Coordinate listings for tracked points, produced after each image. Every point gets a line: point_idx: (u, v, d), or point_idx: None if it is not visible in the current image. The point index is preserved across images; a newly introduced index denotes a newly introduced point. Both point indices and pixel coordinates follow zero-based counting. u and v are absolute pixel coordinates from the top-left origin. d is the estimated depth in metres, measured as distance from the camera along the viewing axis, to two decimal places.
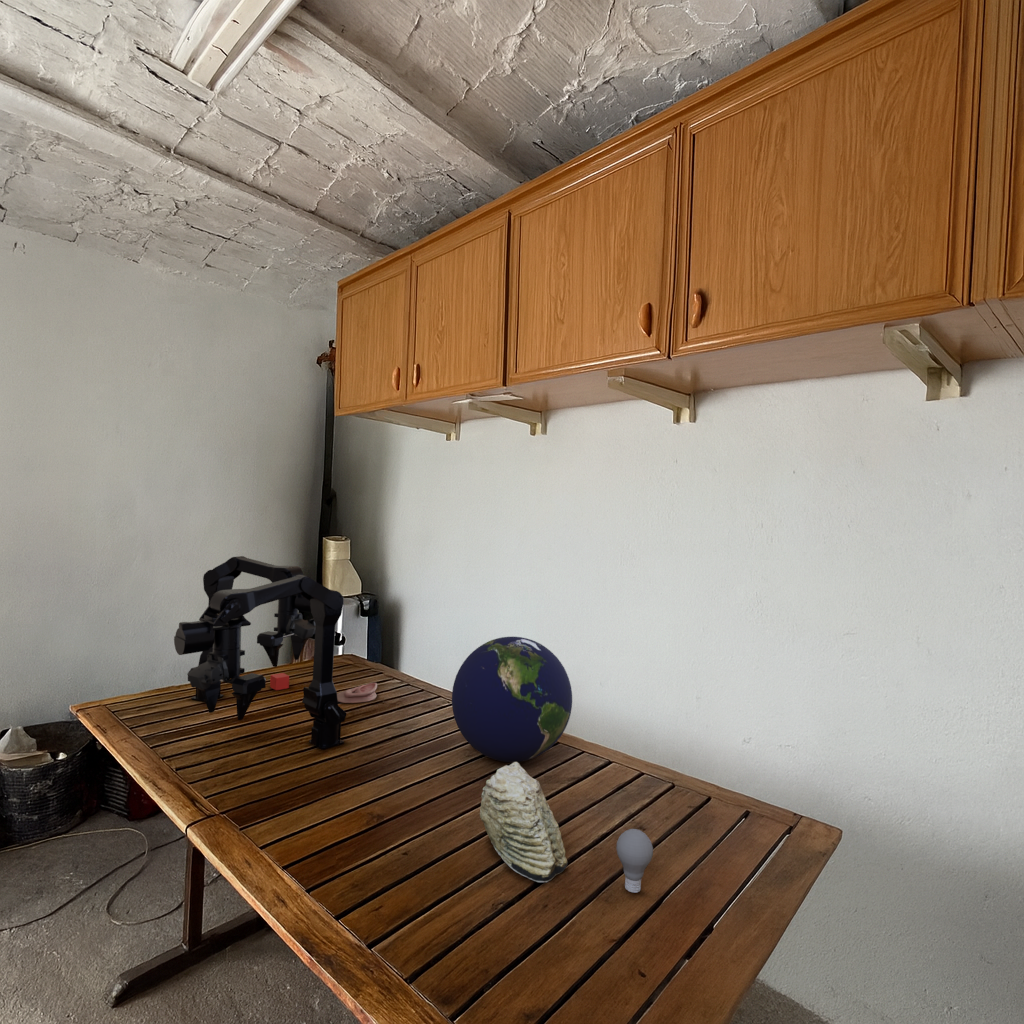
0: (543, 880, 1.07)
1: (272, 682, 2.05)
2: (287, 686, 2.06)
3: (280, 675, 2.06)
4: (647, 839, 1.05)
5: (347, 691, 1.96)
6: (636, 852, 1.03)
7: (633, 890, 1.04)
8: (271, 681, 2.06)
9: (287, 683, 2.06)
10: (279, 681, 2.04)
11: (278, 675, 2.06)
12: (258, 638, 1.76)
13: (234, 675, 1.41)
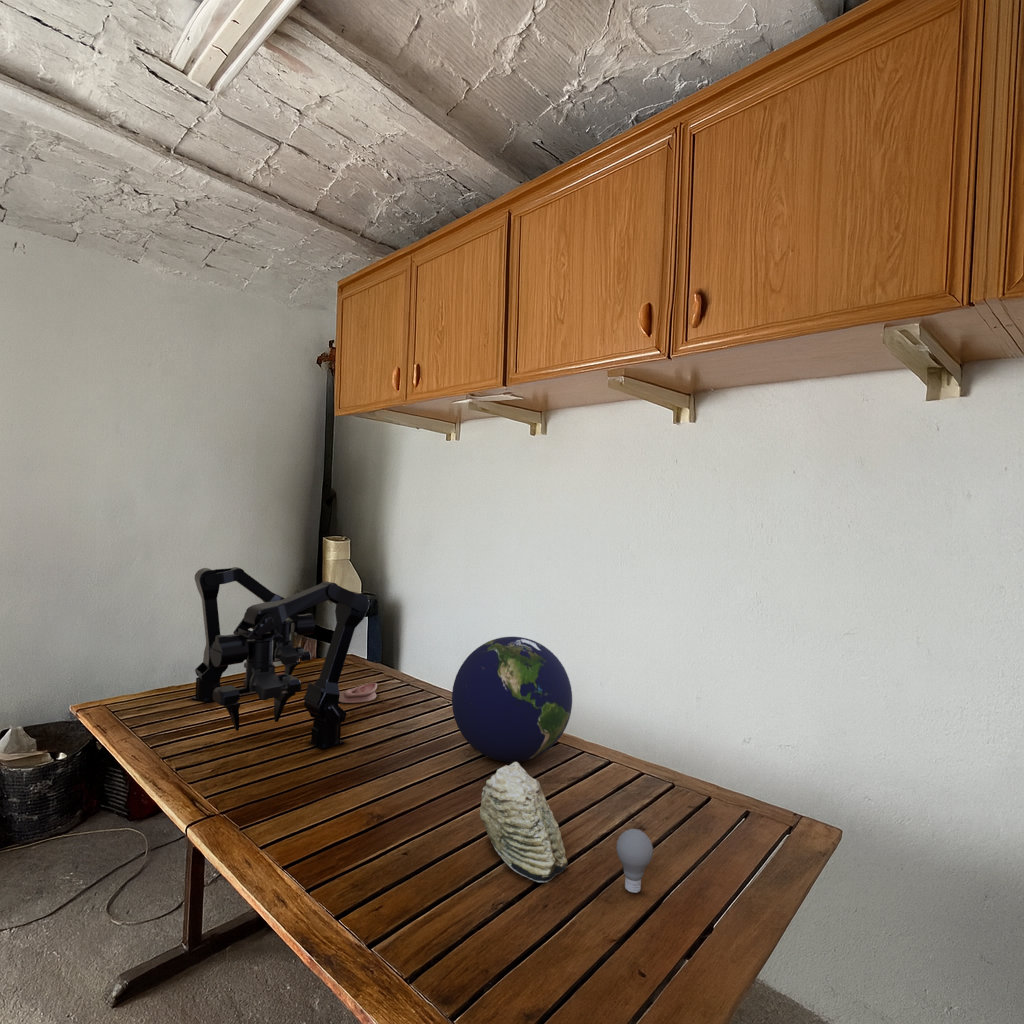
0: (543, 880, 1.07)
1: None
2: None
3: None
4: (647, 839, 1.05)
5: (347, 691, 1.96)
6: (636, 852, 1.03)
7: (633, 890, 1.04)
8: None
9: None
10: None
11: None
12: None
13: None
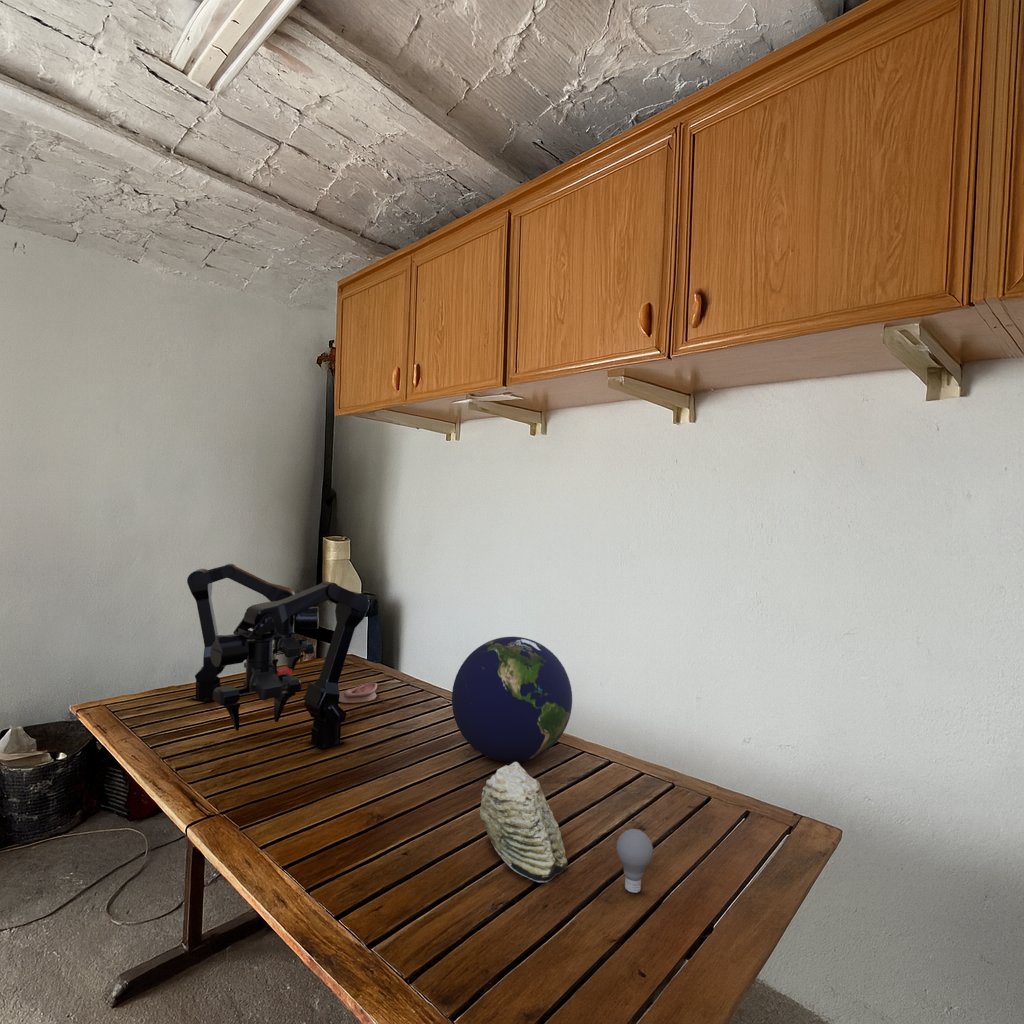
0: (543, 880, 1.07)
1: None
2: None
3: (283, 668, 1.98)
4: (647, 839, 1.05)
5: (347, 691, 1.96)
6: (636, 852, 1.03)
7: (633, 890, 1.04)
8: None
9: None
10: None
11: (280, 669, 1.98)
12: None
13: None
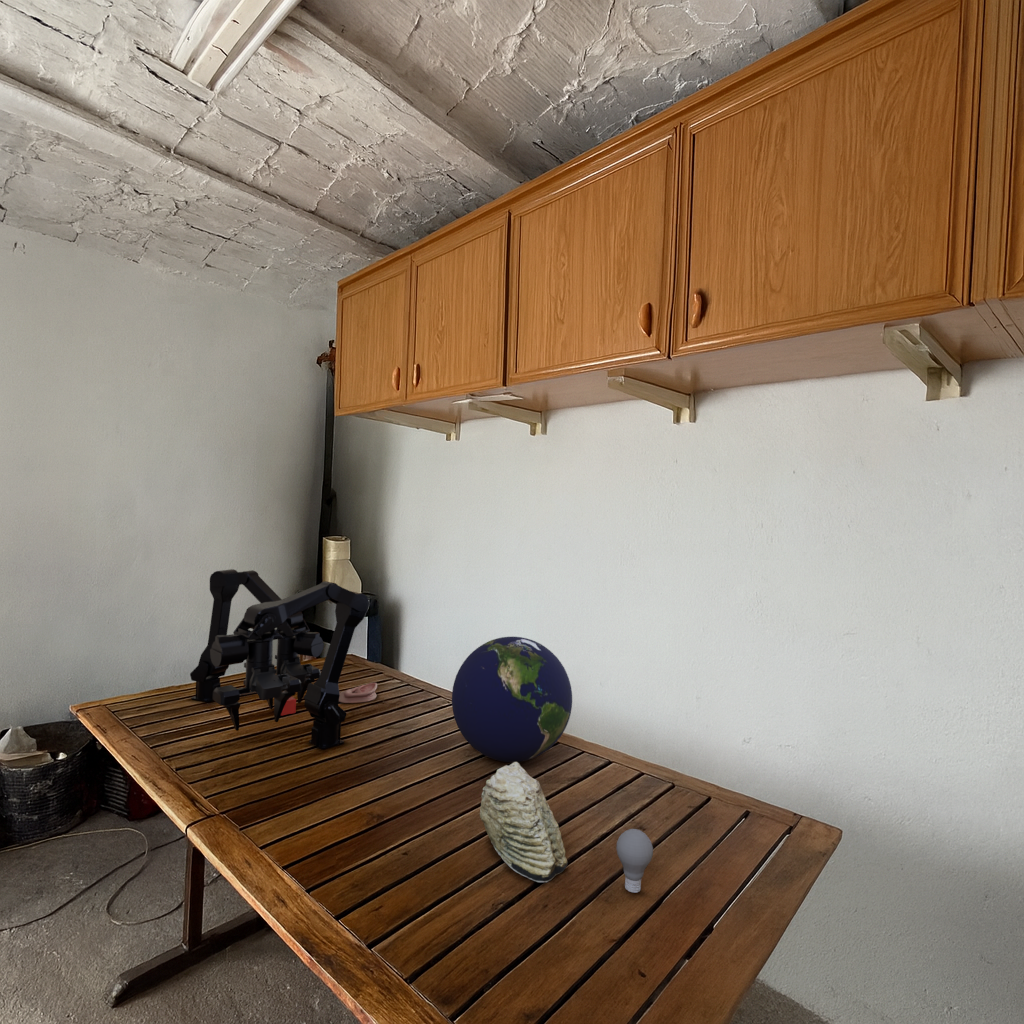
0: (543, 880, 1.07)
1: None
2: (294, 710, 1.83)
3: None
4: (647, 839, 1.05)
5: (347, 691, 1.96)
6: (636, 852, 1.03)
7: (633, 890, 1.04)
8: None
9: (294, 707, 1.83)
10: (285, 705, 1.82)
11: None
12: None
13: None
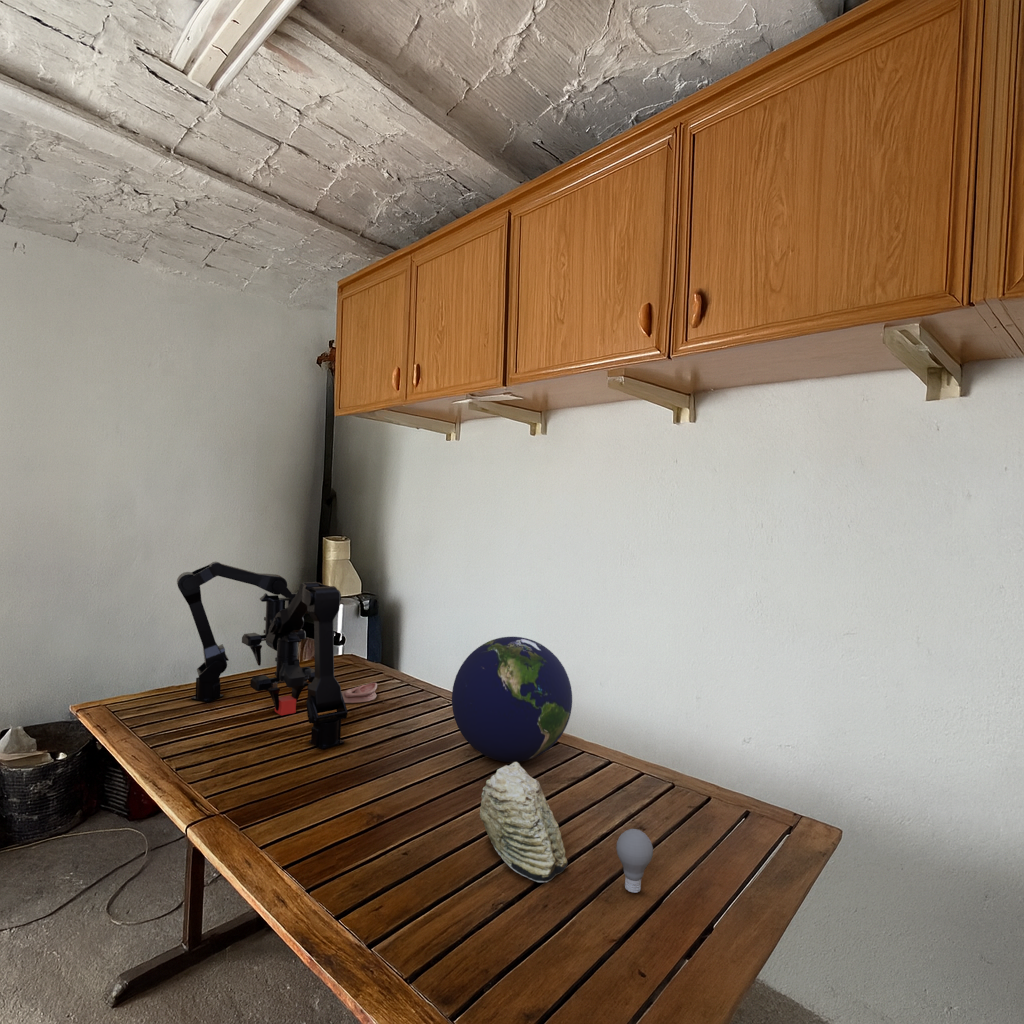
0: (543, 880, 1.07)
1: None
2: (294, 710, 1.83)
3: (286, 698, 1.84)
4: (647, 839, 1.05)
5: (347, 691, 1.96)
6: (636, 852, 1.03)
7: (633, 890, 1.04)
8: None
9: (294, 707, 1.83)
10: (285, 705, 1.82)
11: (283, 698, 1.84)
12: (242, 638, 1.97)
13: None
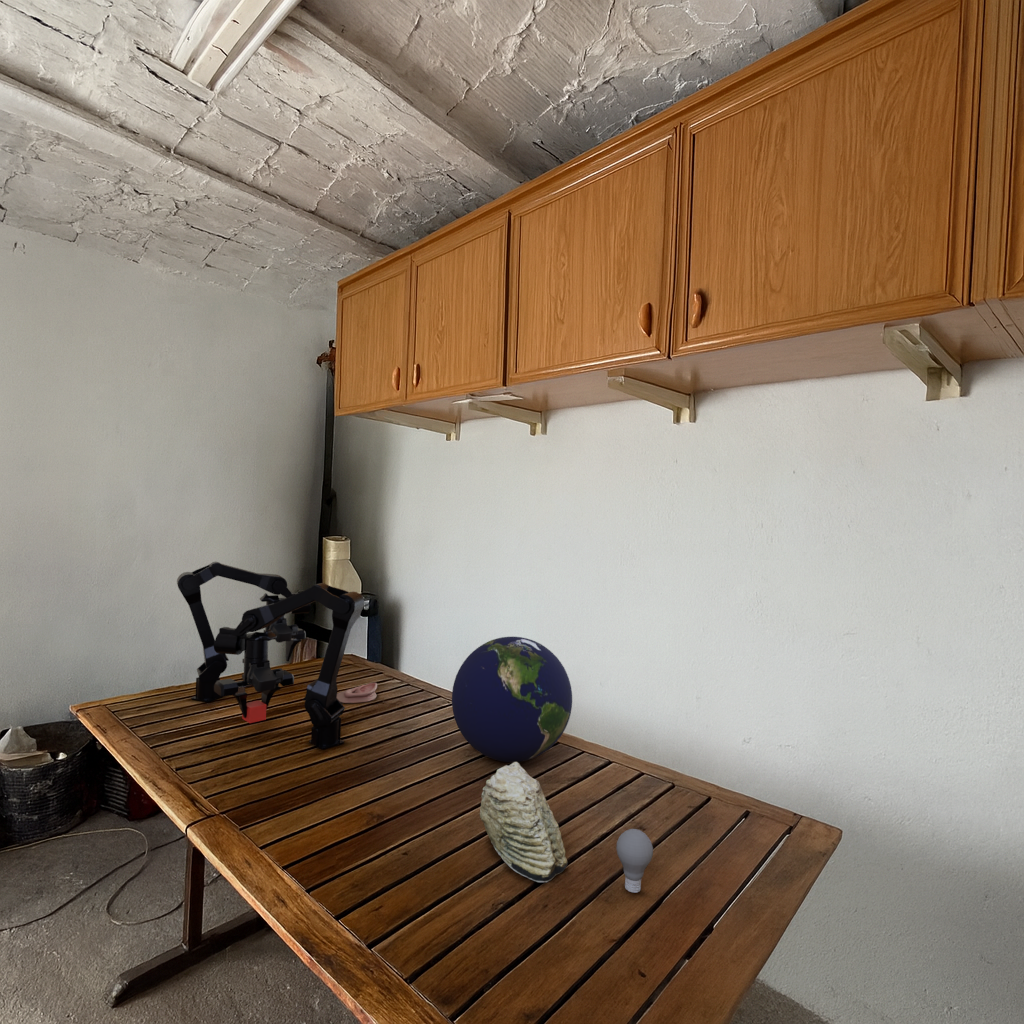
0: (543, 880, 1.07)
1: None
2: (264, 717, 1.65)
3: (255, 704, 1.65)
4: (647, 839, 1.05)
5: (347, 691, 1.96)
6: (636, 852, 1.03)
7: (633, 890, 1.04)
8: None
9: (264, 713, 1.65)
10: (254, 711, 1.63)
11: (252, 704, 1.65)
12: None
13: None
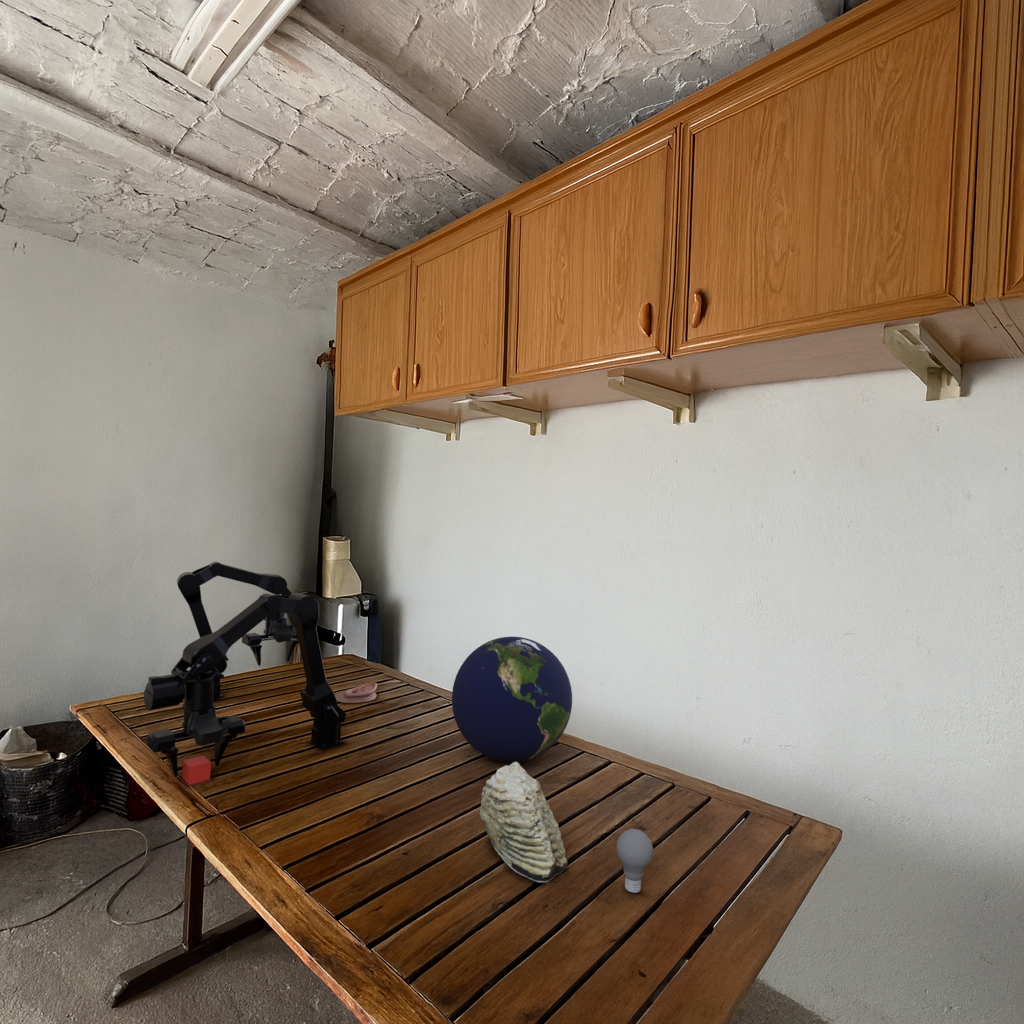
0: (543, 880, 1.07)
1: (185, 772, 1.38)
2: (207, 777, 1.39)
3: (197, 760, 1.39)
4: (647, 839, 1.05)
5: (347, 691, 1.96)
6: (636, 852, 1.03)
7: (633, 890, 1.04)
8: (183, 770, 1.39)
9: (207, 772, 1.39)
10: (195, 770, 1.37)
11: (193, 761, 1.39)
12: (242, 638, 1.97)
13: None
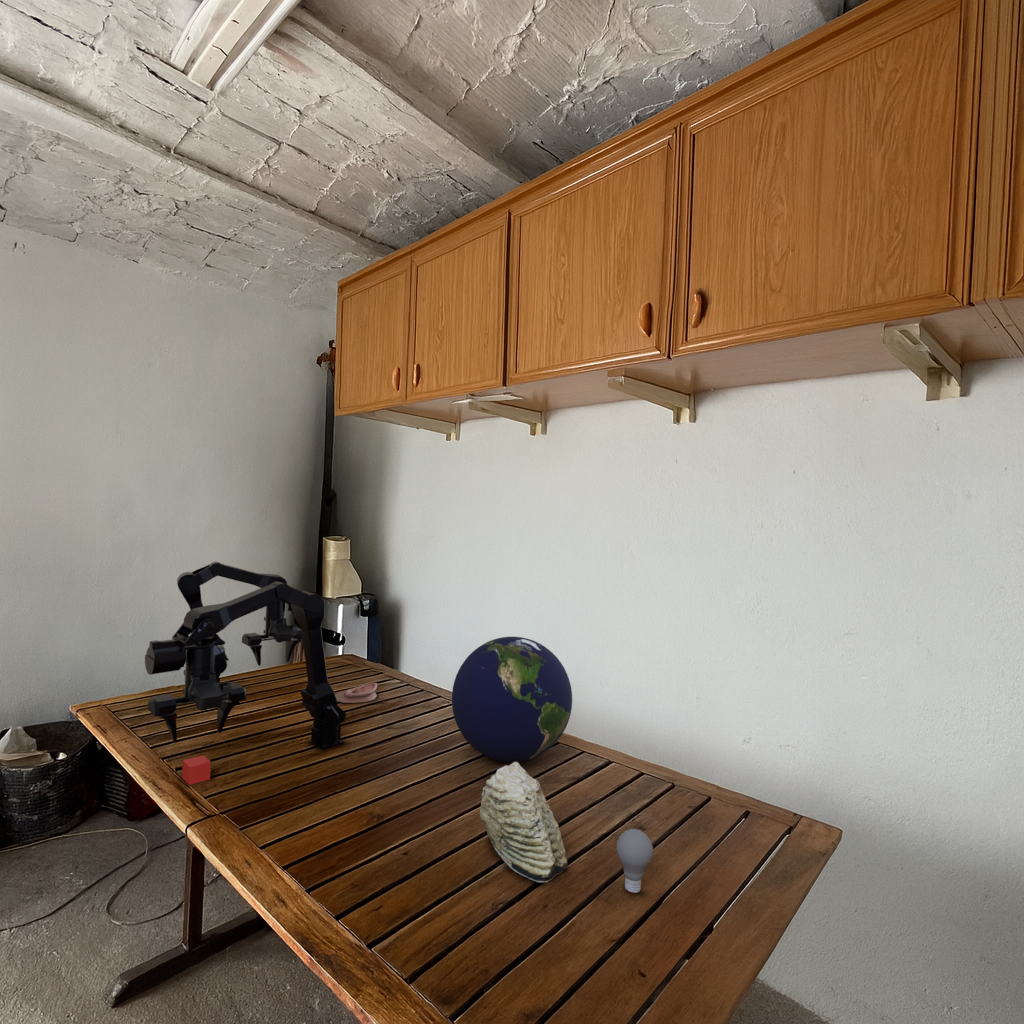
0: (543, 880, 1.07)
1: (185, 772, 1.38)
2: (207, 777, 1.39)
3: (197, 760, 1.39)
4: (647, 839, 1.05)
5: (347, 691, 1.96)
6: (636, 852, 1.03)
7: (633, 890, 1.04)
8: (183, 770, 1.39)
9: (207, 772, 1.39)
10: (195, 770, 1.37)
11: (193, 761, 1.39)
12: (242, 638, 1.97)
13: None
